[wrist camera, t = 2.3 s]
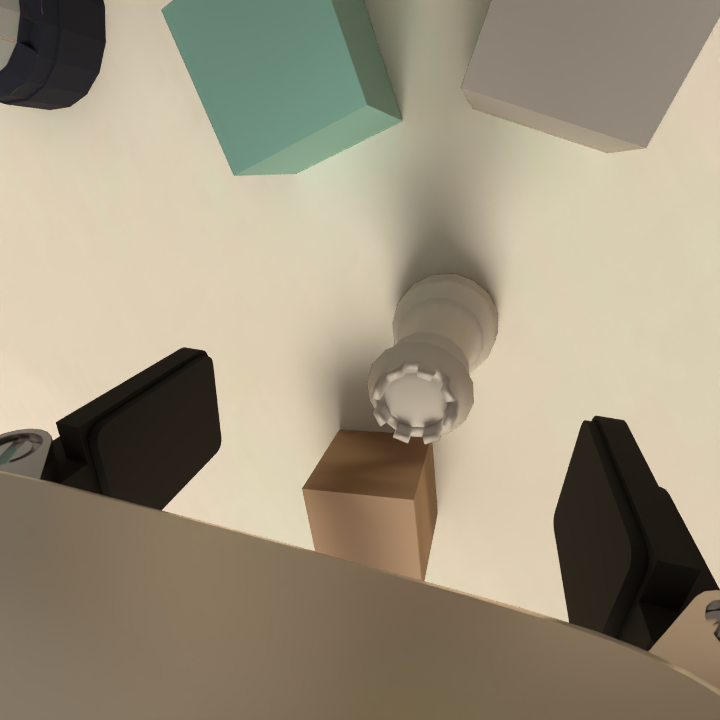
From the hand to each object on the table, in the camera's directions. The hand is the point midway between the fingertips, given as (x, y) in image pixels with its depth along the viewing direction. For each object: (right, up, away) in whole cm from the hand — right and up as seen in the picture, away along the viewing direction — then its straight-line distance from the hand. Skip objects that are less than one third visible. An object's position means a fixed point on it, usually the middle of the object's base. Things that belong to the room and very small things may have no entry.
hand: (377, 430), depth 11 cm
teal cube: (-2, +13, +6) cm, 14 cm away
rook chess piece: (+4, +4, +9) cm, 10 cm away
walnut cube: (+1, -4, +13) cm, 14 cm away
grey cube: (+7, +12, +4) cm, 14 cm away
